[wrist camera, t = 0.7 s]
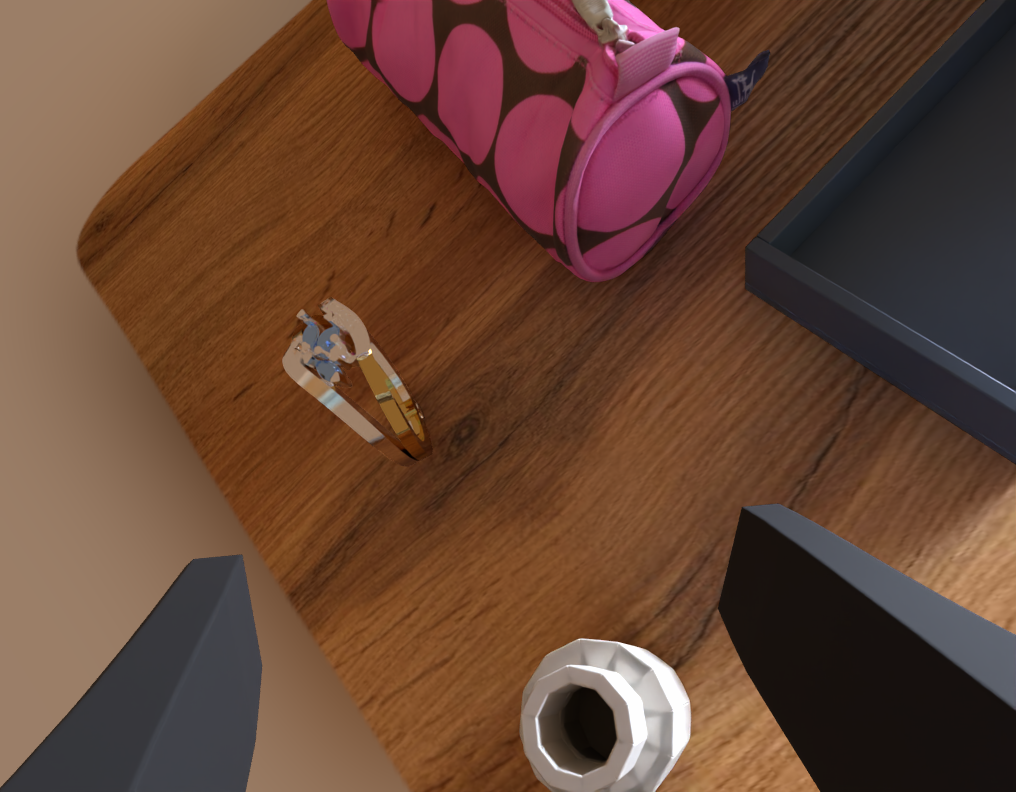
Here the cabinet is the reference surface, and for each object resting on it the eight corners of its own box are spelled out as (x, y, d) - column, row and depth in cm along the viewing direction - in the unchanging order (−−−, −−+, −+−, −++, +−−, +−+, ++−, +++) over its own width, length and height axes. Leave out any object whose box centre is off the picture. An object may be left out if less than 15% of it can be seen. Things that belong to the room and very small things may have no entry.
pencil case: (774, 173, 28) (787, -53, 19) (601, 325, 28) (536, 168, 19) (484, -14, 38) (407, -217, 30) (356, 98, 38) (241, -73, 30)
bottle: (714, 747, 21) (699, 785, 14) (603, 799, 22) (534, 862, 15) (654, 627, 23) (613, 607, 16) (552, 677, 24) (468, 679, 17)
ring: (476, 465, 28) (385, 394, 21) (410, 503, 28) (298, 445, 21) (418, 338, 31) (322, 239, 24) (359, 373, 31) (247, 286, 24)
